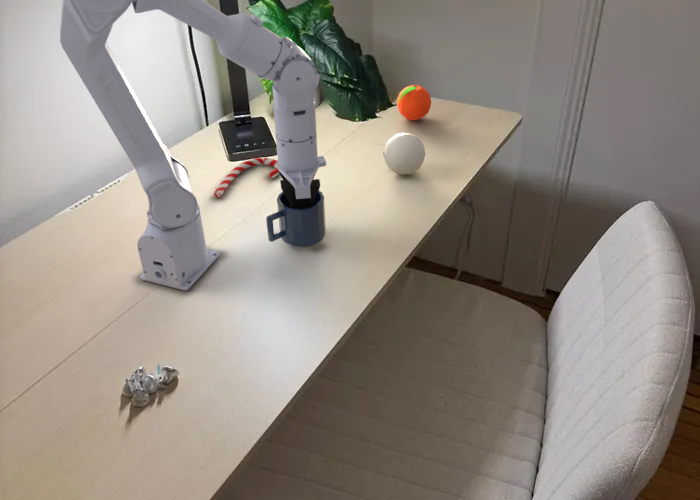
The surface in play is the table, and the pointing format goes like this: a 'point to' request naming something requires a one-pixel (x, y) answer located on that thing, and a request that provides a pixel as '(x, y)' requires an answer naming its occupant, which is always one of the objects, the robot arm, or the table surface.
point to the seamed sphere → (404, 153)
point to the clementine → (414, 102)
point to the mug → (298, 222)
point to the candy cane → (243, 166)
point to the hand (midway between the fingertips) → (301, 215)
